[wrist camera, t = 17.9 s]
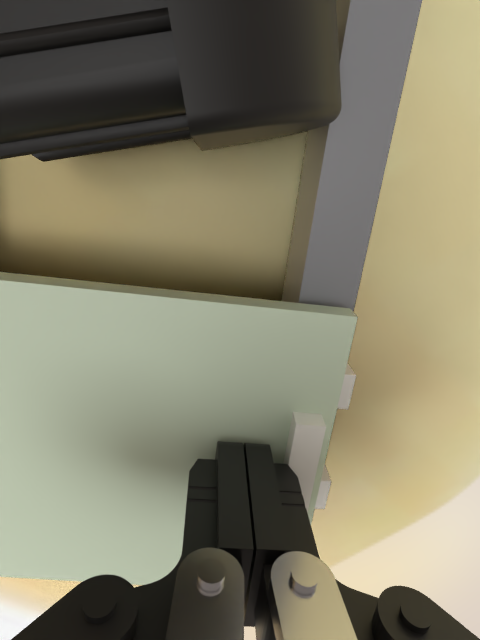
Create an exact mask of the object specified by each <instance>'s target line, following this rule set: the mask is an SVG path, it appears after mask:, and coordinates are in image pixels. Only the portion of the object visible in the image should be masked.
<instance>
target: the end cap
mask: <svg viewBox="0 0 480 640" xmlns="http://www.w3.org/2000/svg"><path fill="white" fill-rule="evenodd" d="M341 106H342V103H341V84H340V66H339V48H338V29H337V11H336V0H0V159H4V158H11V157H17V156H23V155H30V154H32V155H33V156H34V157H36V158H38V159H39V160H41V161H50V160H57V159H63V158H70V157H76V156H82V155H89V154H95V153H102V152H108V151H114V150H121V149H127V148H133V147H140V146H146V145H153V144H159V143H165V142H172V141H178V140H185V139H191V138H192V139H193V140H194V141H195V142H196V144H197V145H198V146H199V147H200V149H201V150H202V151H204V150H210V149H216V148H222V147H228V146H234V145H240V144H245V143H251V142H256V141H262V140H267V139H272V138H277V137H282V136H287V135H292V134H296V133H300V132H305V131H308V130H312V129H316V128H319V127H322V126H325V125H328V124H330V123H331V122H333V121H334V120H336V118H337V117H338V116H339V114H340V111H341Z"/></svg>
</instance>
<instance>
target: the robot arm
mask: <svg viewBox="0 0 480 640" xmlns="http://www.w3.org/2000/svg"><path fill="white" fill-rule="evenodd" d="M244 626H252V627H254V626H255V629H256V639H257V640H480V639H479V638H477V637H476V636H475V635H474V634H473V633H471V632H470V631H469V630H468V629H466V628H465V627H464V626H463V625H462V624H460V623H459V622H458V621H457V620H455V619H454V618H453V617H452V616H451V615H449V614H448V613H447V612H446V611H444V610H443V609H442V608H441V607H439V606H438V605H437V604H436V603H435V602H433V601H432V600H431V599H430V598H428V597H427V596H425V595H424V594H422V593H420V592H419V591H417V590H415V589H412V588H409V587H405V586H392V587H389V588H387V589H385V590H384V591H383V592H382V593H381V595H380V597H379V598H376V597H373V596H371V595H368V594H365V593H362V592H359V591H356V590H354V589H351V588H349V587H347V586H345V585H343V584H341V583H340V582H339V581H337V580H336V579H335V578H334V575H333V573H332V572H331V570H330V569H329V567H328V566H327V565H326V564H325V563H324V562H323V561H321V560H320V558H319V555H318V551H317V547H316V543H315V540H314V536H313V532H312V528H311V525H310V521H309V517H308V513H307V509H306V508H305V502H304V498H303V495H302V491H301V487H300V483H299V479H298V477H297V475H296V474H295V473H294V472H293V470H292V469H291V468H290V467H289V465H288V464H281V463H274V462H273V457H272V452H271V447H270V445H269V444H256V443H244V445H243V443H239V442H223V441H218V442H217V447H216V456H215V460H213V459H197V461H196V462H195V464H194V465H193V466H192V468H191V469H190V471H189V480H188V491H187V501H186V512H185V523H184V535H183V546H182V554H181V557H180V560H179V562H178V563H177V565H176V566H175V568H174V569H173V570H172V571H171V572H170V573H169V574H168V575H166V576H165V577H163V578H162V579H160V580H158V581H155V582H152V583H149V584H146V585H143V586H139V587H136V588H134V587H133V586H132V585H131V584H130V583H129V582H128V581H127V580H126V579H124V578H122V577H120V576H116V575H109V574H106V575H98V576H94V577H91V578H89V579H87V580H85V581H83V582H81V583H80V584H79V585H77V586H76V587H75V588H74V589H72V590H71V591H70V592H69V593H67V594H66V595H65V596H64V597H63V598H61V599H60V600H59V601H58V602H56V603H55V604H54V605H53V606H52V607H50V608H49V609H48V610H47V611H45V612H44V613H43V614H42V615H41V616H39V617H38V618H37V619H36V620H34V621H33V622H32V623H31V624H30V625H28V626H27V627H26V628H25V629H24V630H22V631H21V632H20V633H19V634H17V635H16V636H15V637H14V638H13V639H11V640H244Z"/></svg>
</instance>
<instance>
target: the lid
mask: <svg viewBox="0 0 480 640" xmlns="http://www.w3.org/2000/svg"><path fill="white" fill-rule="evenodd" d="M357 318H358V317H357V316H356V314H355V313H354V312H353V311H352V310H351V309H350V308H342V307H332V306H323V305H313V304H304V303H294V302H284V301H275V300H265V299H256V298H246V297H237V296H227V295H218V294H208V293H198V292H189V291H179V290H170V289H160V288H151V287H141V286H131V285H122V284H112V283H103V282H93V281H84V280H74V279H64V278H55V277H45V276H36V275H26V274H17V273H7V272H0V577H15V578H32V579H50V580H67V581H85V580H87V579H89V578H91V577H94V576H98V575H106V574H109V575H116V576H120V577H122V578H124V579H126V580H127V581H128V582H129V583H130V584H136V585H146V584H149V583H152V582H155V581H158V580H160V579H162V578H163V577H165V576H166V575H168V574H169V573H170V572H171V571H172V570H173V569H174V568H175V566H176V565H177V563H178V562H179V560H180V557H181V554H182V546H183V535H184V523H185V512H186V501H187V491H188V480H189V471H190V469H191V468H192V466H193V465H194V464H195V462H196V461H197V459H213V460H215V456H216V447H217V442H218V441H223V442H239V443H243V445H244V443H256V444H269V445H270V447H271V452H272V457H273V462H274V463H281V464H288V465H289V467H290V468H291V469H292V470H293V472H294V473H295V474H296V475H297V477H298V479H299V483H300V487H301V491H302V495H303V498H304V502H305V508H306V509H307V513H308V517H309V521H310V525H311V522H312V518H313V513H314V509H315V505H316V500H317V496H318V491H319V487H320V482H321V478H322V473H323V469H324V465H325V460H326V456H327V451H328V447H329V442H330V438H331V434H332V429H333V425H334V420H335V416H336V411H337V407H338V402H339V398H340V394H341V389H342V385H343V380H344V376H345V371H346V367H347V363H348V358H349V354H350V349H351V345H352V340H353V336H354V331H355V327H356V323H357Z"/></svg>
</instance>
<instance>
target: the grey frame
mask: <svg viewBox="0 0 480 640" xmlns="http://www.w3.org/2000/svg"><path fill="white" fill-rule="evenodd" d="M421 3H422V0H336V11H337V29H338V48H339V66H340V84H341V103H342V106H341V111H340V114H339V116H338V117H337V118H336V120H334V121H333V122H331V123H330V124H328V125H325V126H322V127H319V128H316V129H312V130H308V134H307V140H306V147H305V153H304V159H303V166H302V172H301V178H300V185H299V191H298V197H297V204H296V210H295V216H294V223H293V229H292V235H291V242H290V248H289V255H288V261H287V267H286V274H285V280H284V286H283V293H282V299H281V301H284V302H294V303H304V304H313V305H323V306H332V307H342V308H350V309H351V310H352V311H354V307H355V302H356V298H357V293H358V289H359V284H360V280H361V275H362V270H363V266H364V261H365V257H366V252H367V248H368V243H369V239H370V234H371V230H372V225H373V221H374V216H375V212H376V207H377V202H378V198H379V193H380V189H381V184H382V180H383V175H384V171H385V166H386V162H387V157H388V153H389V148H390V144H391V139H392V134H393V130H394V125H395V121H396V116H397V112H398V107H399V103H400V98H401V94H402V89H403V85H404V80H405V75H406V71H407V66H408V62H409V57H410V53H411V48H412V44H413V39H414V35H415V30H416V26H417V21H418V17H419V12H420V7H421ZM355 379H356V374H355V373H354V371H353V370H352V368H351V367H350V365H349V364H348V363H347V367H346V371H345V376H344V380H343V385H342V389H341V394H340V398H339V402H338V407H337V409H348V408H349V404H350V400H351V396H352V391H353V387H354V383H355ZM330 485H331V479H330V476H329V473H328V471H327V468H326V465H324V469H323V473H322V478H321V482H320V487H319V491H318V496H317V500H316V505H315V509H325V506H326V502H327V497H328V493H329V489H330Z"/></svg>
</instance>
